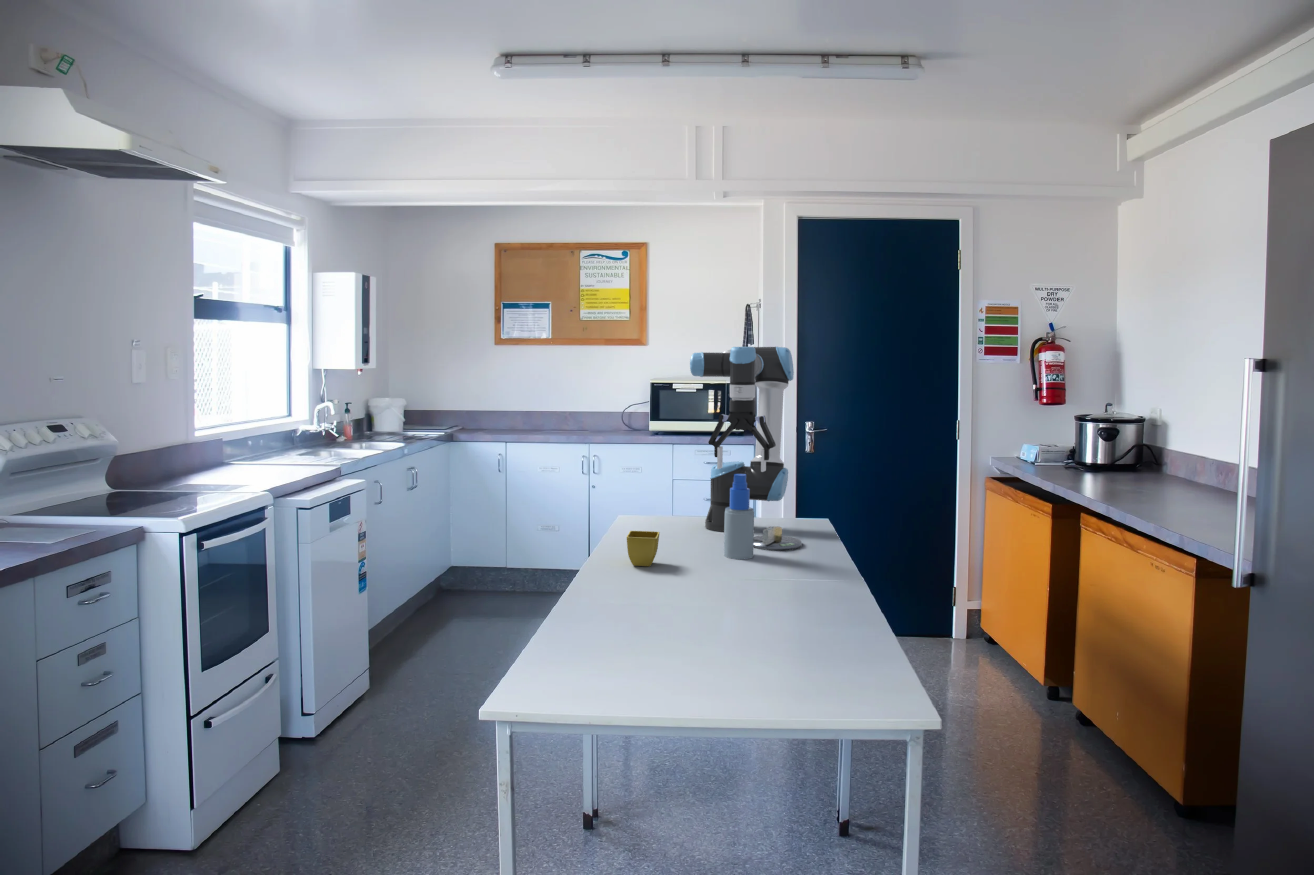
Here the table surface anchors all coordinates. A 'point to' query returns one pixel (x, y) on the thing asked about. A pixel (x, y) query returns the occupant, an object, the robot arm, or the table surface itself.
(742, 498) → the spray bottle
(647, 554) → the gold square bowl
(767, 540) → the needle dial
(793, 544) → the gauge plate
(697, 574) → the table surface
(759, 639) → the table surface
